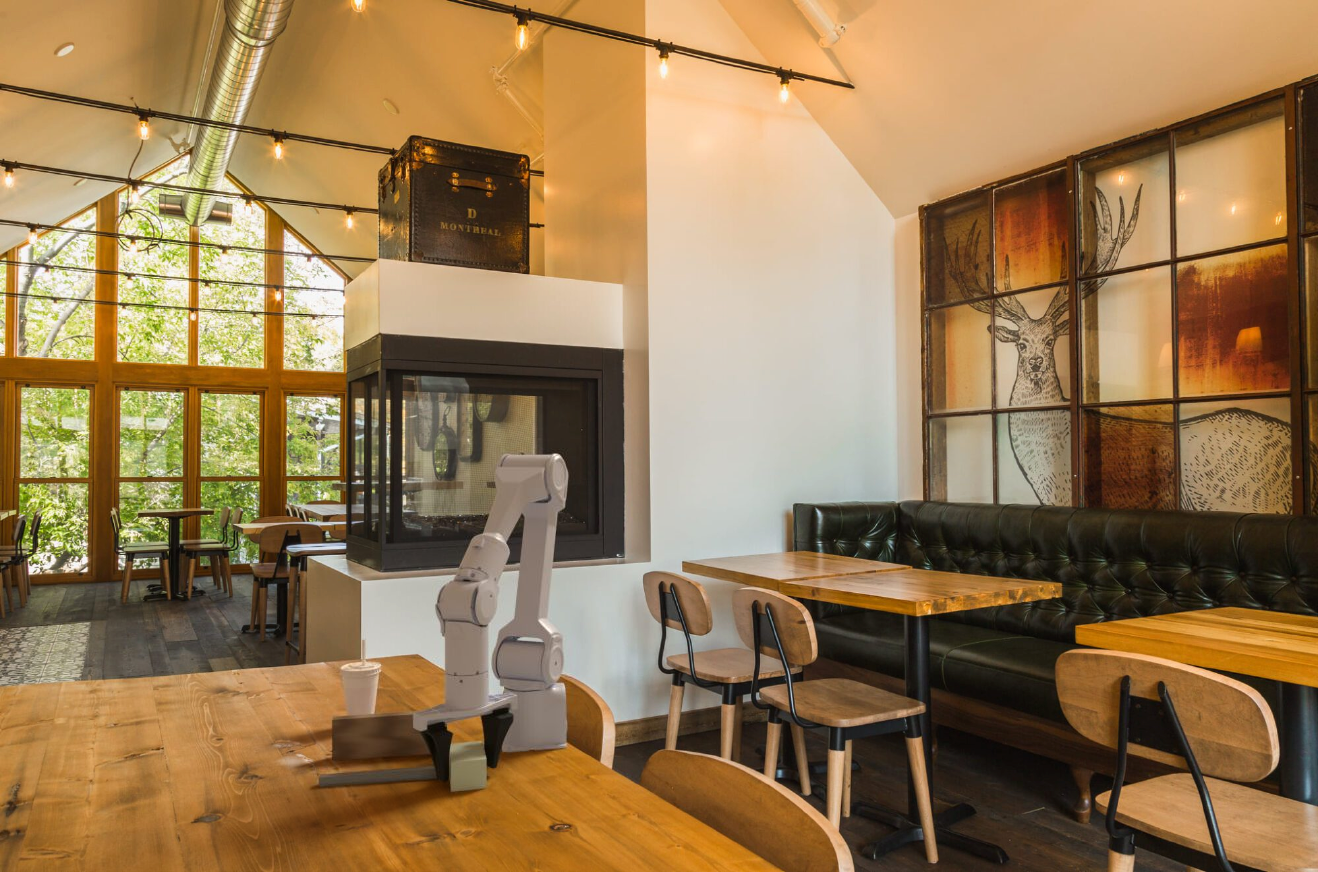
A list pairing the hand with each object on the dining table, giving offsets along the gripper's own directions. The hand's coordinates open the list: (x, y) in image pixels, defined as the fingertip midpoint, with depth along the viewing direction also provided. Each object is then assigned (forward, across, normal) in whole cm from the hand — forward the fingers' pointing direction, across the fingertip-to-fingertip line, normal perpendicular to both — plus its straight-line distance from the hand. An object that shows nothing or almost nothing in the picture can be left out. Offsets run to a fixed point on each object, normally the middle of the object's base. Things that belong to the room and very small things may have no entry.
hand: (467, 772), depth 118 cm
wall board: (+1, +3, -17) cm, 17 cm away
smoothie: (+2, +1, -34) cm, 34 cm away
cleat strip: (+1, +9, -7) cm, 11 cm away
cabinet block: (+2, 0, 0) cm, 2 cm away
